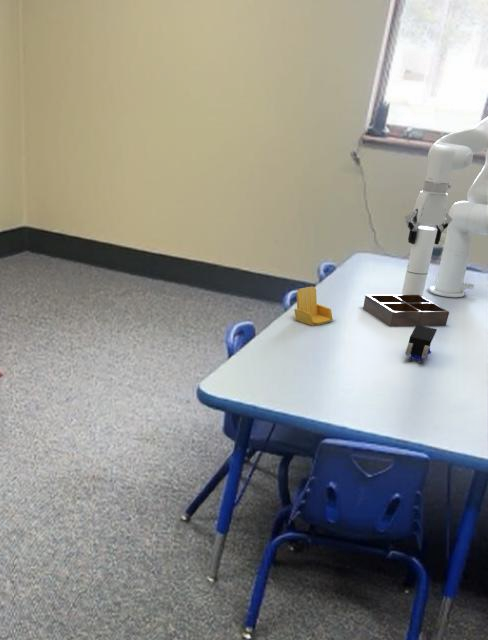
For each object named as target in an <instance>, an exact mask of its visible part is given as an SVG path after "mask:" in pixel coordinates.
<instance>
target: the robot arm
mask: <svg viewBox="0 0 488 640" xmlns="http://www.w3.org/2000/svg"><path fill="white" fill-rule="evenodd" d="M484 152H485V158H484V165H483V167H482V169H481V170H480V172H479V173H478V175H477V176H476V178H475V179H474V181H473V182H472V184H471V186H470V187H469V188H468V191H467V194H466V198H467V199H466V200H460V201H457V202H454V203H453V204H452V205H451V206H450V208H449V211H448V213H447V209H448V200H449V199H448V198H449V197H448V196H449V195H448V194H449V193H447V192H448V190H450V189H451V188H452V185H451V184H450V180H451V179H450V178H451V173H452V172H453V171H454V172H463V171H465V170H467V169H468V168H469V167H470V166H471V164H472V162H473V160H474V155H479V154H482V153H484ZM427 163H428V165H427V170H426V174H425V179H424V182H423V189H422V190H420V191H419V193H418V196H417V198H416V201H415V204H414V207H413V211H412V212H410V213H409V214H407V215H405V216H404V220H405V223H406V226H407V228H408V230H409V233H408V237H407V241H408V243H409V244H411V245H412V244H414V243H415V239H416V234H417V232H416V229H417V228H418V227H419V226H435V227H434V228H436V229H438V230H437V234H436V238H435V243H434V245H439V243H440V241H441V238H442V233H443V232H444V231H445V229H446V228H447V229H446V234H445V235H446V236H445V240H444V244H443V249H442V254H441V257H440V262H439V266H438V270H437V275H436V279H435V283H434V285H433V286H430V287H429V292H430V293H431V294H434V295H436V296H441V297H444V298H445V297H447V298H463V297H464V296H465V294H466V292H465V290H473V289H474V286H475V285H474V283H467V282H466V281H464V280H465V276H466V271H467V268H468V264H469V259H470V256H471V251H472V248H473V240H472V236H471V234H477V235H480V236H488V116H487V117H485V118H484V119H483V120H481V121H480V122H479V123H477V124H476V125H474V126H473V127H471V128H466V129H461V130H459V131H454V132H450V133H447V134H446V135H444V136H442V137H440V138H439V139H437V140H436V141H435V142H434V143H433V144H432V145H431V147H430V148H429V150H428V153H427Z"/></svg>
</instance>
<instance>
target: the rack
mask: <svg viewBox="0 0 488 640" xmlns="http://www.w3.org/2000/svg"><path fill="white" fill-rule="evenodd" d="M362 309H363V310H365V311H366V312H367V313H369V314H371V315H372V316H374V317H375V318H377V319H378V320H380V321H382V322H383V323H384V324H386V325H387V326H389V327H416V325H419V326H424V327H446V326H447V323H448V319H449V315H450V311H449V310H447V309H445V308H444V307H442V306H440V305H438V304H436V303H435V302H433V301H431V300H429V299H427V298H426V297H424V296H420V295H401V294H365V295H364V301H363V306H362Z"/></svg>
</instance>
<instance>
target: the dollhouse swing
mask: <svg viewBox="0 0 488 640" xmlns="http://www.w3.org/2000/svg"><path fill="white" fill-rule="evenodd" d="M295 295H296V308H294V317H295V321H296V322H300V323H303V324H305V325H309V326H311V327H313V326H320V325H323V324H324V325H325V324H328V323H331V322H332V321H334V320H333V313H332V308H330V307H328V306H325V305H322V304H318V302H317V299H318V298H317V289H316V287H314V286H307V287H302V288H298V289H297V291H296V293H295Z"/></svg>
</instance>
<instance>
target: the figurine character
mask: <svg viewBox="0 0 488 640" xmlns="http://www.w3.org/2000/svg"><path fill="white" fill-rule="evenodd" d="M437 331H438V330H437V328H433V327H430V326H419V325H416V326H414V329H413V331H412V332H411V334H410V336H409V340H408V343H407V346H406V349H405V355H406V356H409V358H408V361H409V362H412V361H413V359H414V360H419V361H418V363H419V364H421V363H422V361H423V359H427V358H428V355H430V354H432V351H431V344H432V341H433V340H434V338H435V336H436V333H437Z"/></svg>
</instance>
